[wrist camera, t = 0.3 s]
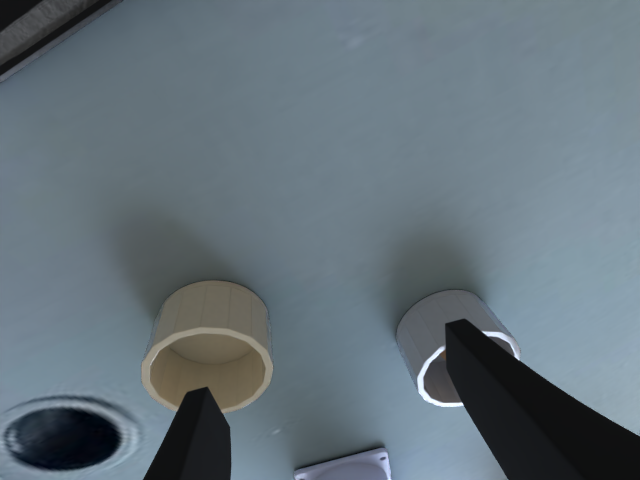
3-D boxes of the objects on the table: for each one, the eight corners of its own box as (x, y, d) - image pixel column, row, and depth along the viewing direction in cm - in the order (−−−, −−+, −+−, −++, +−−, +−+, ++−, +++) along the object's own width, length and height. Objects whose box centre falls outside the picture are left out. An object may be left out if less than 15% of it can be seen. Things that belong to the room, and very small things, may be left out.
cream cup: (280, 347, 24) (284, 398, 21) (181, 372, 24) (170, 427, 21) (253, 268, 21) (254, 314, 18) (138, 295, 21) (117, 347, 17)
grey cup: (483, 347, 27) (515, 392, 24) (399, 369, 27) (419, 416, 24) (489, 279, 24) (526, 319, 21) (392, 303, 24) (414, 347, 21)
